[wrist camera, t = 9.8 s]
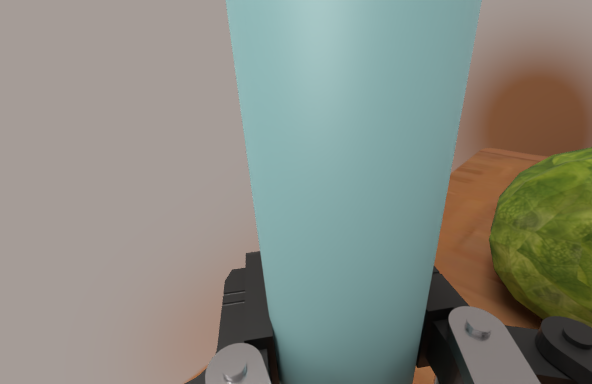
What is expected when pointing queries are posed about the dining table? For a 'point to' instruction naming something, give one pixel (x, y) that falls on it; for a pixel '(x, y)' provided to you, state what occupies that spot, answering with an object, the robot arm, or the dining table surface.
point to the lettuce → (548, 237)
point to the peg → (350, 171)
